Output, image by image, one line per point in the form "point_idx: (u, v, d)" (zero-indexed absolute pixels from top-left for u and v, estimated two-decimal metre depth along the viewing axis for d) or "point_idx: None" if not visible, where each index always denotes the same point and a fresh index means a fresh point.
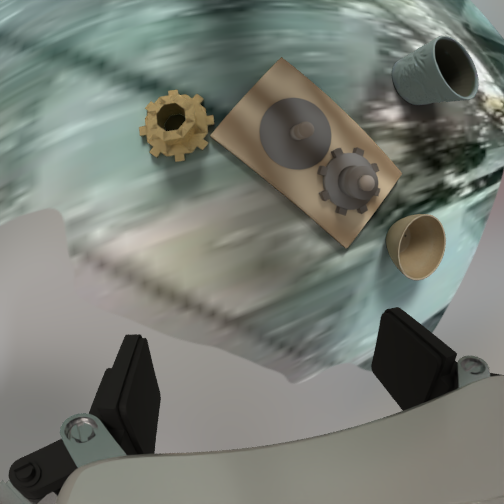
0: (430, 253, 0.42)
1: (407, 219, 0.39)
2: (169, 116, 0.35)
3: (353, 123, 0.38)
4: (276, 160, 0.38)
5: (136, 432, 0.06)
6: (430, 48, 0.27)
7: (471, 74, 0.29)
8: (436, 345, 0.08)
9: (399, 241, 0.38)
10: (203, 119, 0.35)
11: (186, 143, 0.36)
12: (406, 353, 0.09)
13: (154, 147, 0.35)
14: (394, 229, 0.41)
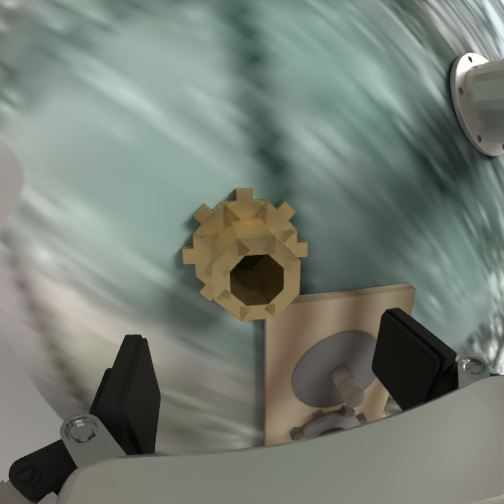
0: None
1: None
2: None
3: (386, 393, 0.30)
4: (294, 382, 0.27)
5: (136, 432, 0.06)
6: None
7: None
8: (436, 345, 0.08)
9: None
10: None
11: None
12: (406, 353, 0.09)
13: (193, 251, 0.23)
14: None
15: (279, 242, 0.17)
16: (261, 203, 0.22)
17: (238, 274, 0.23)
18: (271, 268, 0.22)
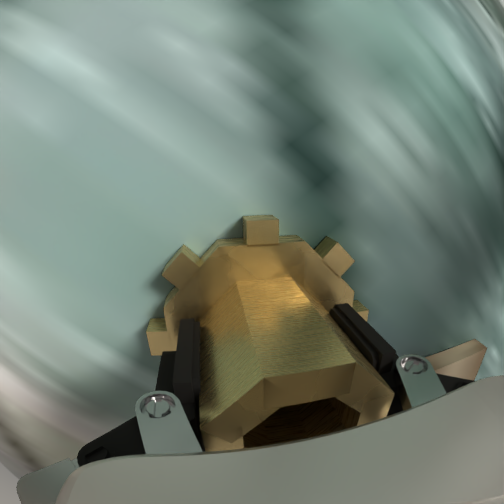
0: None
1: None
2: None
3: None
4: None
5: None
6: None
7: None
8: (375, 341, 0.09)
9: None
10: None
11: None
12: None
13: (167, 335, 0.12)
14: None
15: (362, 371, 0.06)
16: (294, 247, 0.11)
17: None
18: None
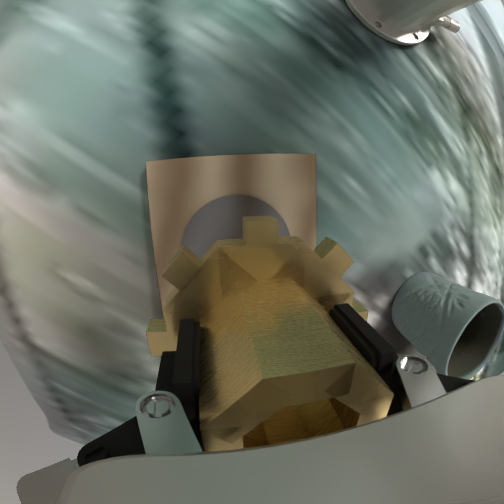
0: None
1: None
2: None
3: None
4: None
5: None
6: (476, 305, 0.22)
7: (480, 357, 0.25)
8: (375, 341, 0.09)
9: None
10: None
11: None
12: None
13: (167, 335, 0.12)
14: None
15: (361, 372, 0.06)
16: (294, 248, 0.11)
17: None
18: None
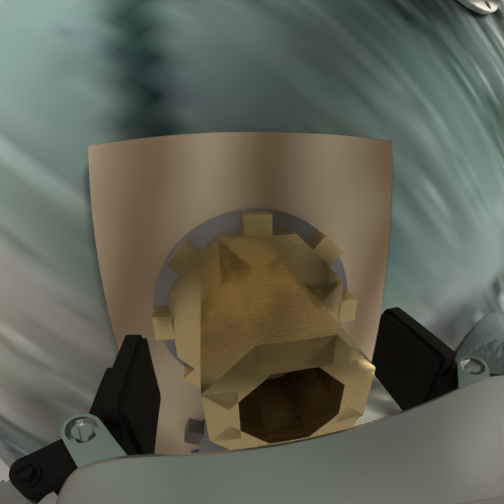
0: None
1: None
2: None
3: None
4: None
5: (136, 432, 0.06)
6: None
7: None
8: (436, 345, 0.08)
9: None
10: None
11: None
12: (406, 353, 0.09)
13: (171, 320, 0.13)
14: None
15: (343, 343, 0.08)
16: (287, 239, 0.13)
17: None
18: None
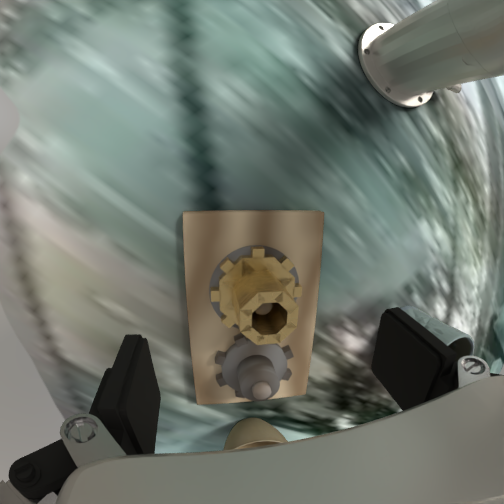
0: None
1: (267, 433, 0.34)
2: None
3: (311, 326, 0.35)
4: None
5: (136, 432, 0.06)
6: (447, 339, 0.28)
7: None
8: (436, 345, 0.08)
9: (242, 444, 0.32)
10: None
11: None
12: (406, 353, 0.09)
13: (219, 292, 0.31)
14: (250, 428, 0.35)
15: (285, 294, 0.26)
16: (270, 259, 0.31)
17: None
18: (276, 307, 0.30)
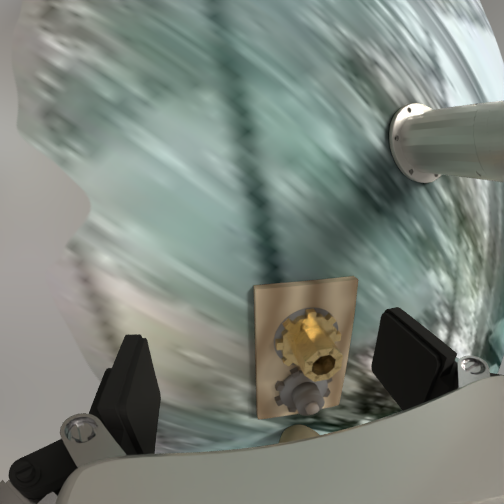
0: None
1: (312, 436, 0.44)
2: None
3: (345, 358, 0.45)
4: None
5: (136, 432, 0.06)
6: None
7: None
8: (436, 345, 0.08)
9: None
10: None
11: None
12: (406, 353, 0.09)
13: (283, 343, 0.40)
14: (298, 433, 0.45)
15: (335, 349, 0.35)
16: (319, 318, 0.40)
17: None
18: None
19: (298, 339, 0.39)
